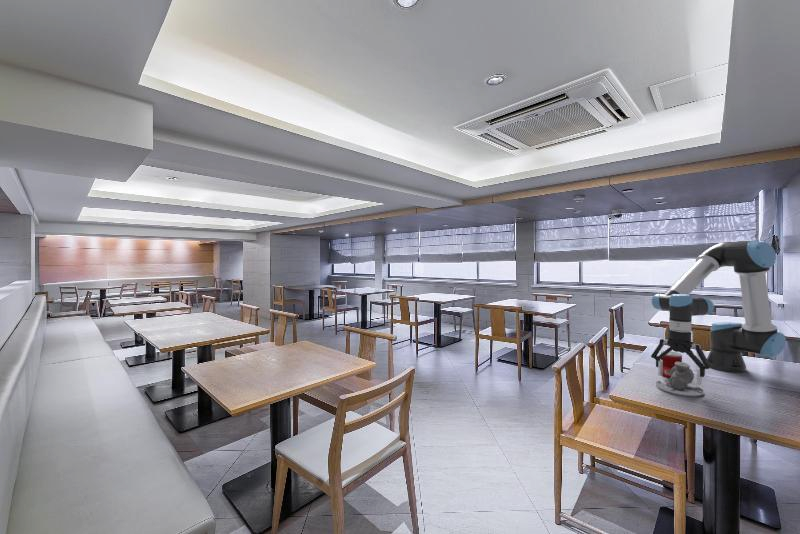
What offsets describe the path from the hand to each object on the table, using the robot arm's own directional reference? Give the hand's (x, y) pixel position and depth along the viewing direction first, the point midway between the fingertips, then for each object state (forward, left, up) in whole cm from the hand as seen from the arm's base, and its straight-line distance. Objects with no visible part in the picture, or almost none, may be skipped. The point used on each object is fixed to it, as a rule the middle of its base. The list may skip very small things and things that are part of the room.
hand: (679, 379), depth 150 cm
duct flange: (0, 0, -4) cm, 4 cm away
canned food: (-17, -8, -5) cm, 19 cm away
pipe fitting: (0, 0, -3) cm, 3 cm away
